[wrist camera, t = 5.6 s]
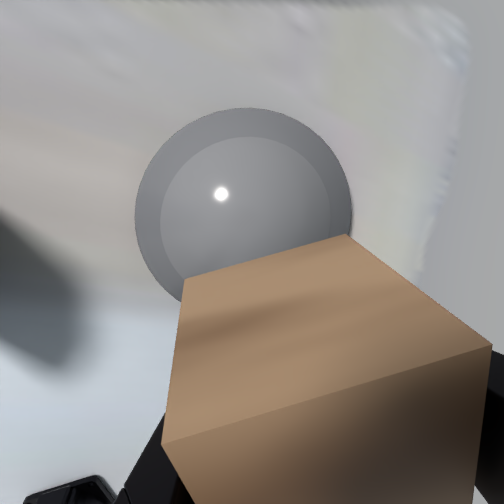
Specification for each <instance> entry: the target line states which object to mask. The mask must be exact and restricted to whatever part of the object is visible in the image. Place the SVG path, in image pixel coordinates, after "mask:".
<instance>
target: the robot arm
mask: <svg viewBox="0 0 504 504" xmlns="http://www.w3.org/2000/svg"><path fill="white" fill-rule="evenodd" d="M165 413H166V412H165ZM164 420H165V414H164V415H163V417H162V419H161V421H160V422H159V424H158V426H157V428H156V429H155V431H154V433H153V435H152V437H151V438H150V440H149V442H148V444H147V445H146V447H145V449H144V451H143V452H142V454H141V456H140V458H139V459H138V461H137V463H136V465H135V466H134V468H133V470H132V472H131V473H130V475H129V477H128V479H127V480H126V482H125V484H124V488H122V489H121V491H120V492H119V494H118V496H117V498H116V499H115V501H114V499H113V498H112V497H111V495H110V494H109V493H108V491H107V490H106V489H105V487H104V486H103V485H102V483H101V482H100V480H99V479H98V478H97V477H94V476H91V477H88V478H84V479H81V480H78V481H75V482H72V483H68V484H65V485H62V486H59V487H56V488H53V489H49V490H46V491H43V492H40V493H37V494H33V495H30V496H27V497H26V498H25V500H24V502H23V504H195V503H194V501H193V499H192V497H191V496H190V494H189V492H188V490H187V489H186V487H185V485H184V484H183V482H182V480H181V478H180V477H179V475H178V473H177V471H176V470H175V468H174V466H173V464H172V463H171V461H170V459H169V458H168V456H167V454H166V452H165V451H164V449H163V447H162V445H161V441H162V434H163V427H164ZM475 486H476V488H477V489H478V490H479V492H480V493H481V494H482V496H483V497H484V498H485V500H486V501H487V503H488V504H504V355H502V354H500V353H497V352H495V351H493V350H492V352H491V360H490V368H489V376H488V384H487V391H486V399H485V407H484V415H483V423H482V431H481V438H480V446H479V454H478V462H477V470H476V478H475Z"/></svg>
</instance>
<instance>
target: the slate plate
mask: <svg viewBox="0 0 504 504" xmlns="http://www.w3.org/2000/svg"><path fill="white" fill-rule="evenodd" d="M350 220H351V198H350V193H349V187H348V183H347V180H346V177H345V174H344V171H343V169H342V167H341V165H340V163H339V161H338V159H337V158H336V156H335V155H334V153H333V152H332V150H331V149H330V147H329V146H328V145H327V144H326V143H325V142H324V141H323V139H322V138H321V137H320V136H318V135H317V134H316V133H315V132H314V131H312V130H311V129H310V128H309V127H307V126H305V125H304V124H302V123H301V122H299V121H297V120H295V119H293V118H291V117H288V116H286V115H284V114H281V113H277V112H274V111H270V110H265V109H256V108H235V109H229V110H224V111H218V112H216V113H213V114H210V115H207V116H204V117H201V118H200V119H198V120H196V121H194V122H192V123H190V124H188V125H186V126H185V127H184V128H182V129H181V130H179V131H178V132H177V133H175V134H174V135H173V136H172V137H171V138H170V139H169V140H168V141H167V142H166V143H165V144H164V145H163V146H162V147H161V148H160V149H159V151H158V152H157V153H156V155H155V156H154V157H153V159H152V160H151V162H150V164H149V166H148V167H147V169H146V171H145V173H144V176H143V178H142V181H141V183H140V186H139V190H138V194H137V198H136V206H135V230H136V235H137V240H138V245H139V248H140V251H141V253H142V256H143V259H144V261H145V263H146V264H147V266H148V268H149V270H150V272H151V273H152V274H153V276H154V277H155V279H156V280H157V281H158V282H159V284H160V285H161V286H162V287H163V288H164V289H165V290H166V291H167V292H168V293H170V294H171V295H172V296H173V297H174V298H175V299H177V300H178V301H180V302H181V301H182V293H183V286H184V279H187V278H190V277H194V276H197V275H201V274H205V273H208V272H212V271H215V270H219V269H222V268H226V267H229V266H233V265H236V264H240V263H244V262H247V261H251V260H254V259H258V258H261V257H265V256H268V255H272V254H275V253H279V252H283V251H286V250H290V249H293V248H297V247H300V246H304V245H307V244H311V243H314V242H318V241H322V240H325V239H329V238H332V237H336V236H339V235H343V234H347V235H348V233H349V228H350Z"/></svg>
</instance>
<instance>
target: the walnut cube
mask: <svg viewBox="0 0 504 504" xmlns="http://www.w3.org/2000/svg"><path fill="white" fill-rule="evenodd" d="M491 352H492V344H491V343H490V342H489V341H487V340H486V339H485V338H483V337H482V336H481V335H480V334H478V333H477V332H476V331H474V330H473V329H471V328H470V327H469V326H468V325H466V324H465V323H464V322H462V321H461V320H460V319H458V318H457V317H455V316H454V315H453V314H452V313H450V312H449V311H448V310H446V309H445V308H444V307H442V306H441V305H440V304H438V303H437V302H436V301H434V300H433V299H432V298H430V297H429V296H428V295H426V294H425V293H424V292H422V291H421V290H420V289H418V288H417V287H416V286H414V285H413V284H412V283H410V282H409V281H408V280H406V279H405V278H404V277H402V276H401V275H400V274H398V273H397V272H396V271H394V270H393V269H392V268H391V267H389V266H388V265H387V264H385V263H384V262H383V261H381V260H380V259H379V258H377V257H376V256H375V255H373V254H372V253H371V252H369V251H368V250H367V249H365V248H364V247H363V246H361V245H360V244H359V243H357V242H356V241H355V240H353V239H352V238H351V237H349V236H348V235H347V234H343V235H339V236H336V237H332V238H329V239H325V240H322V241H318V242H314V243H311V244H307V245H304V246H300V247H297V248H293V249H290V250H286V251H283V252H279V253H275V254H272V255H268V256H265V257H261V258H258V259H254V260H251V261H247V262H244V263H240V264H236V265H233V266H229V267H226V268H222V269H219V270H215V271H212V272H208V273H205V274H201V275H197V276H194V277H190V278H187V279H184V286H183V293H182V301H181V308H180V315H179V322H178V329H177V336H176V343H175V350H174V357H173V364H172V371H171V378H170V385H169V392H168V399H167V406H166V413H165V420H164V427H163V434H162V441H161V445H162V447H163V449H164V451H165V452H166V454H167V456H168V458H169V459H170V461H171V463H172V464H173V466H174V468H175V470H176V471H177V473H178V475H179V477H180V478H181V480H182V482H183V484H184V485H185V487H186V489H187V490H188V492H189V494H190V496H191V497H192V499H193V501H194V503H195V504H472V500H473V493H474V485H475V478H476V470H477V462H478V454H479V446H480V438H481V431H482V423H483V415H484V407H485V399H486V391H487V384H488V376H489V368H490V360H491Z"/></svg>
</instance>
